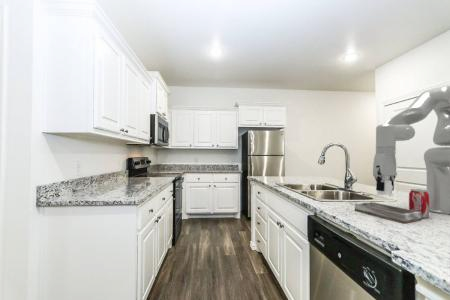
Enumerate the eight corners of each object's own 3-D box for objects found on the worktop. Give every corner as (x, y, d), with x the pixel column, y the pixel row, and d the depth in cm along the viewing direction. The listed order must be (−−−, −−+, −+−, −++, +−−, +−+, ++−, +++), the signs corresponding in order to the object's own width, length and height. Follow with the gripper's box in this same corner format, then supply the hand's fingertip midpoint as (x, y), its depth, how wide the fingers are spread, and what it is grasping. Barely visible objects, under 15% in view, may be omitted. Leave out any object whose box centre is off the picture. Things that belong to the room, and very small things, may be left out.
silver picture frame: (371, 208, 118) (371, 201, 118) (421, 220, 98) (421, 212, 98) (354, 210, 113) (354, 203, 113) (404, 223, 93) (404, 214, 93)
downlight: (398, 196, 103) (397, 173, 103) (385, 196, 101) (385, 173, 102) (382, 193, 110) (382, 173, 111) (370, 194, 109) (370, 172, 110)
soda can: (433, 219, 99) (433, 191, 100) (414, 218, 101) (414, 191, 101) (422, 215, 106) (422, 189, 107) (405, 214, 108) (405, 188, 108)
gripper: (389, 151, 113) (388, 188, 112) (364, 150, 106) (364, 189, 106) (406, 151, 106) (405, 190, 105) (381, 150, 99) (380, 192, 99)
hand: (385, 190), depth 106 cm, fingers closed on downlight, 5 cm apart
